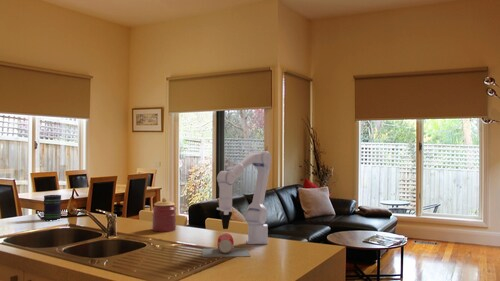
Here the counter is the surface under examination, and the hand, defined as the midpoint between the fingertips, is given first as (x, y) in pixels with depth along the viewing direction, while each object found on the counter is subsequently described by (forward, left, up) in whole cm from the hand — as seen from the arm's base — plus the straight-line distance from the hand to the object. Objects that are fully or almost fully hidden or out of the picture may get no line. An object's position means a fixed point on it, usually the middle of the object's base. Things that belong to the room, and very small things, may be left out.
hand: (225, 228), depth 186 cm
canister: (+32, -49, -10) cm, 59 cm away
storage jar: (+104, -84, -10) cm, 134 cm away
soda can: (0, -4, -6) cm, 7 cm away
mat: (0, +5, -9) cm, 11 cm away
